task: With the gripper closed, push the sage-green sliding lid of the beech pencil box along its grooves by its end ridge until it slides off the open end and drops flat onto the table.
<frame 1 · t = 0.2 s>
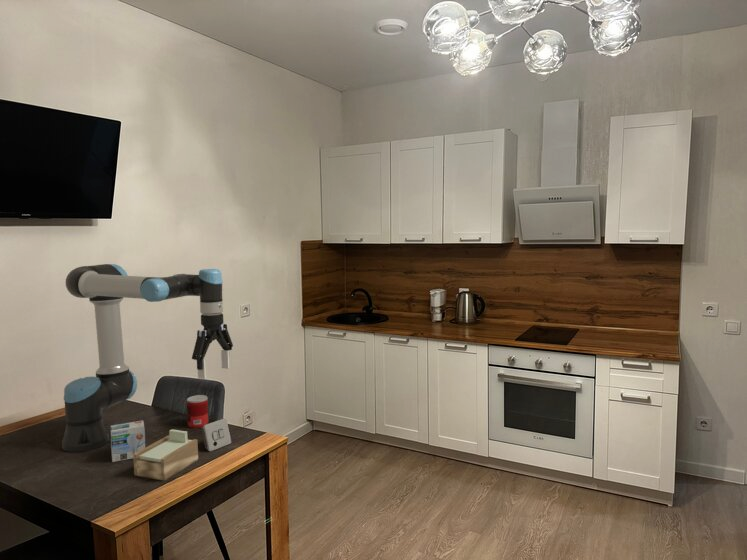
hand: (214, 373, 185), 27 cm above the table, tool pointing down, fingers open, 13 cm apart
electrical switch: (215, 446, 189), on the table
canned food: (198, 425, 210), on the table
lid: (165, 451, 172), point 5 cm above the table, touching pencil box
pencil box: (167, 467, 173), on the table
light bulb box: (129, 456, 182), on the table
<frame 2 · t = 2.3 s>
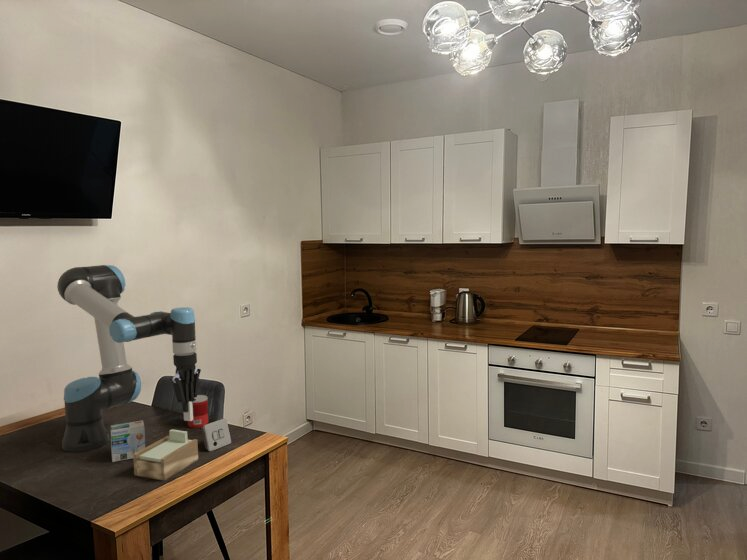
hand: (188, 420, 182), 12 cm above the table, tool pointing down, fingers closed
nothing on the table moved.
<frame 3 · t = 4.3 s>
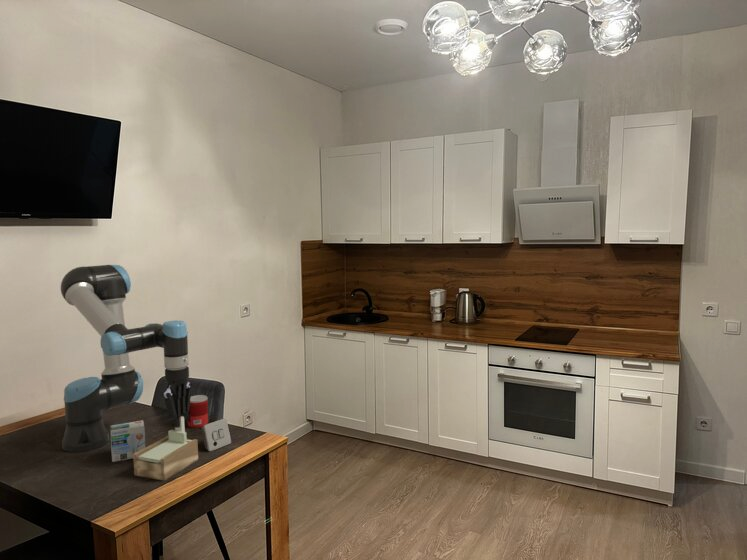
hand: (180, 435, 178), 8 cm above the table, tool pointing down, fingers closed
nothing on the table moved.
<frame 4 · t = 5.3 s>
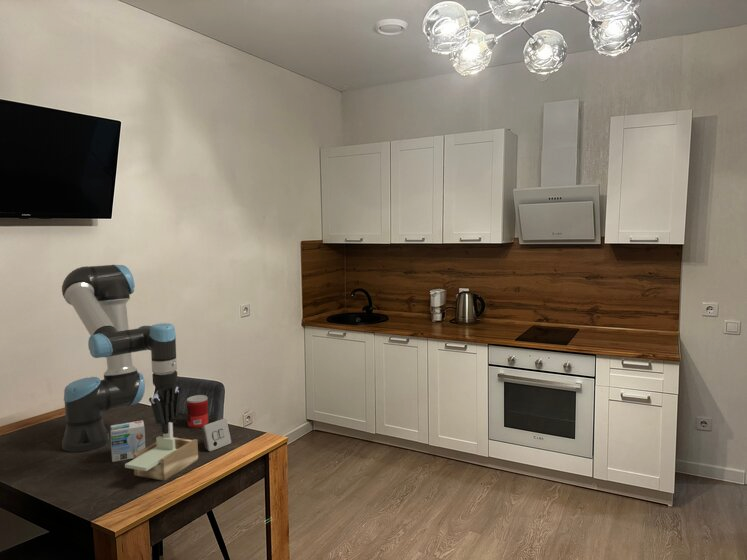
hand: (168, 441, 173), 8 cm above the table, tool pointing down, fingers closed
lid: (152, 459, 166), point 6 cm above the table, touching gripper
everything else where it was.
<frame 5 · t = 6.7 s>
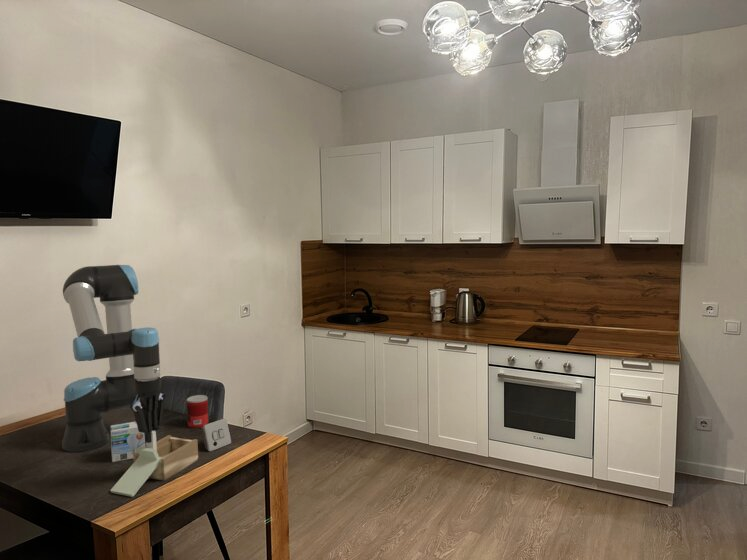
hand: (151, 450, 166), 8 cm above the table, tool pointing down, fingers closed
lid: (137, 475, 161), point 3 cm above the table, tilted 25°, touching gripper
everything else where it was.
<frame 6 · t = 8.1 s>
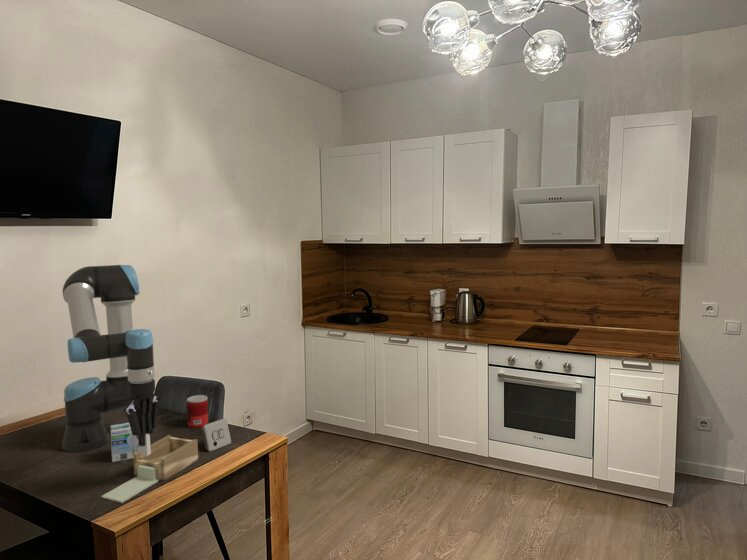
hand: (145, 454, 163), 8 cm above the table, tool pointing down, fingers closed
lid: (131, 490, 158), on the table
everything else where it was.
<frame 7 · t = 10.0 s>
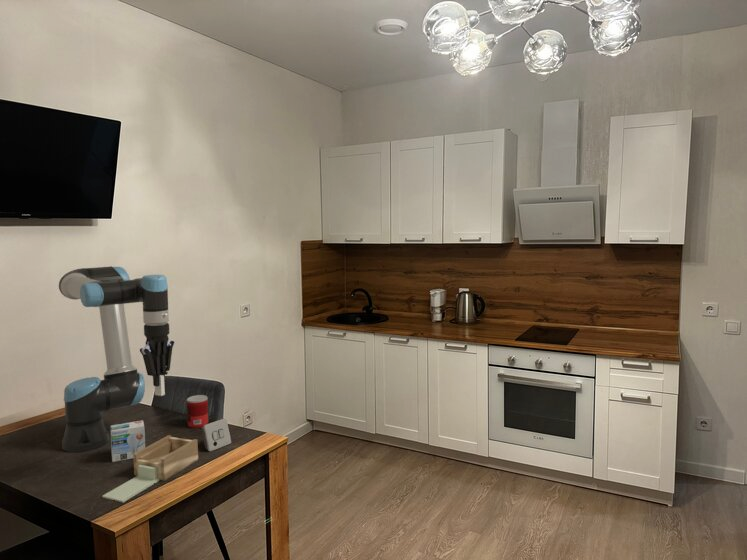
hand: (159, 394, 171), 24 cm above the table, tool pointing down, fingers closed
nothing on the table moved.
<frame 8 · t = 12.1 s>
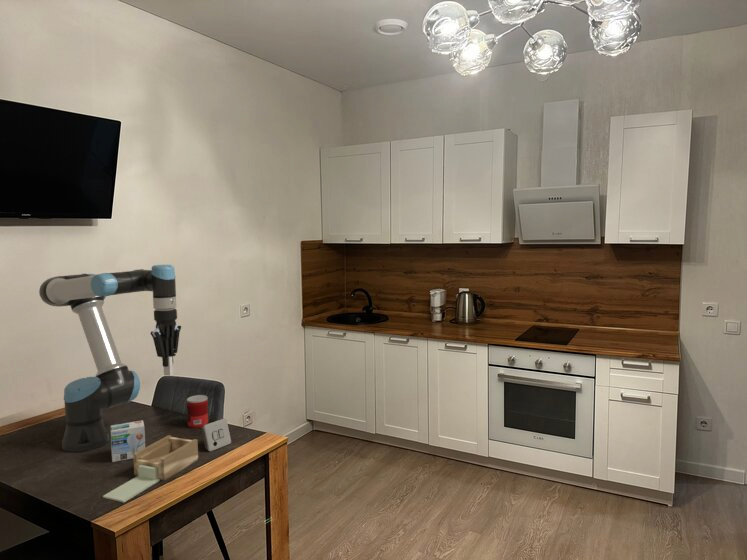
hand: (168, 374, 186), 26 cm above the table, tool pointing down, fingers closed
nothing on the table moved.
at the end: lid inside the target area (6.4 cm from its centre), on the table; lid touching table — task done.
